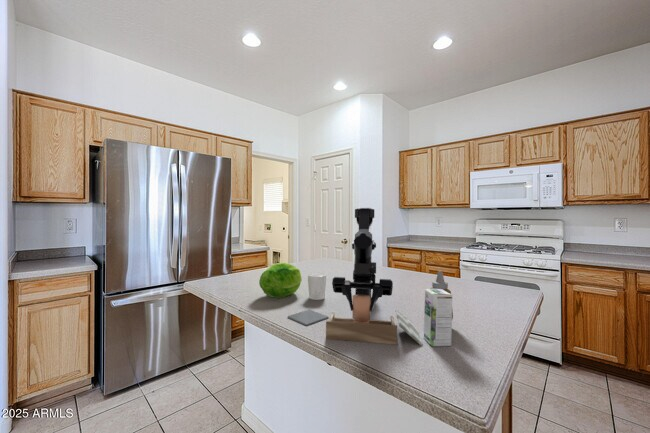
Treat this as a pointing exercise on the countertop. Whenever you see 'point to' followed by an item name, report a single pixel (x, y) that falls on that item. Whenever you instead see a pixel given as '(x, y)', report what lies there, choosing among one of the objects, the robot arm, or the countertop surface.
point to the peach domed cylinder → (361, 308)
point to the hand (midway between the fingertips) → (361, 311)
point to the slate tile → (308, 317)
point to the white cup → (316, 286)
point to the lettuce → (280, 280)
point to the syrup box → (438, 317)
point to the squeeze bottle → (441, 284)
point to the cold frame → (370, 330)
